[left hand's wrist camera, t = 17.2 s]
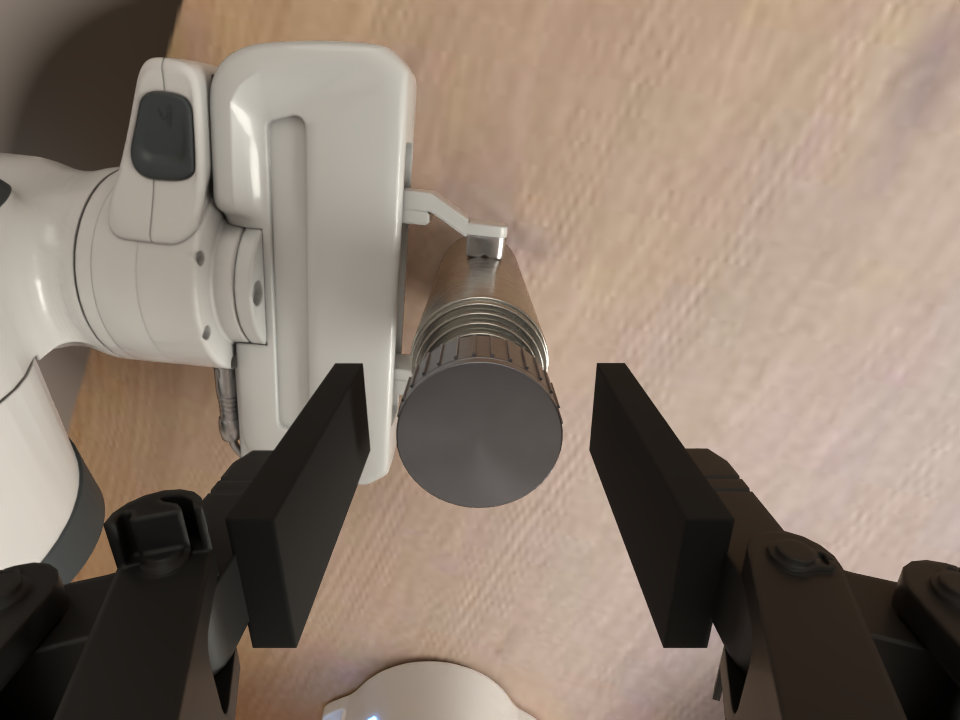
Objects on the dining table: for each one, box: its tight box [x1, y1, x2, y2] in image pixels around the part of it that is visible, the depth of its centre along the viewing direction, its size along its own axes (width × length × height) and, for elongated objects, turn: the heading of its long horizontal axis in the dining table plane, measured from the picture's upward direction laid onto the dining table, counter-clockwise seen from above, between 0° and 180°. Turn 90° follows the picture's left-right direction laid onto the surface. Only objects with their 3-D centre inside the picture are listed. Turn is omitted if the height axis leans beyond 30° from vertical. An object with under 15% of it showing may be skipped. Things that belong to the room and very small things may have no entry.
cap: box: [396, 335, 563, 508], centre depth 14 cm, size 4×4×2 cm
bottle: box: [410, 236, 549, 375], centre depth 22 cm, size 5×5×19 cm
